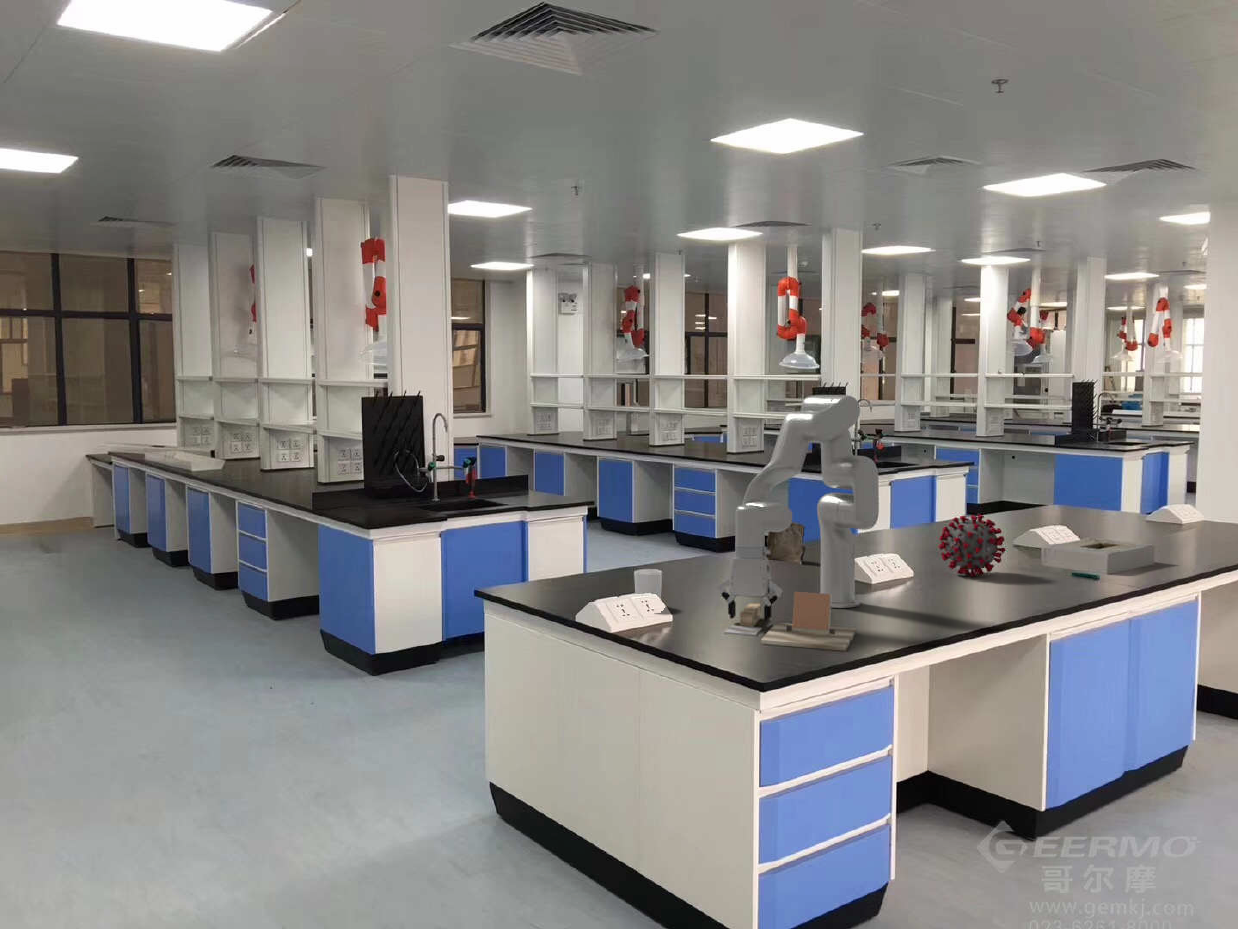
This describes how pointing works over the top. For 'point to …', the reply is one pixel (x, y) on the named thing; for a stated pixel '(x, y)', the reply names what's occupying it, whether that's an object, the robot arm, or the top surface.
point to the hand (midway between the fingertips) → (749, 618)
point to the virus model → (971, 545)
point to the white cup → (648, 581)
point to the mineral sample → (787, 544)
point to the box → (1098, 555)
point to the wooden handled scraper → (747, 621)
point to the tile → (811, 611)
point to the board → (809, 637)
